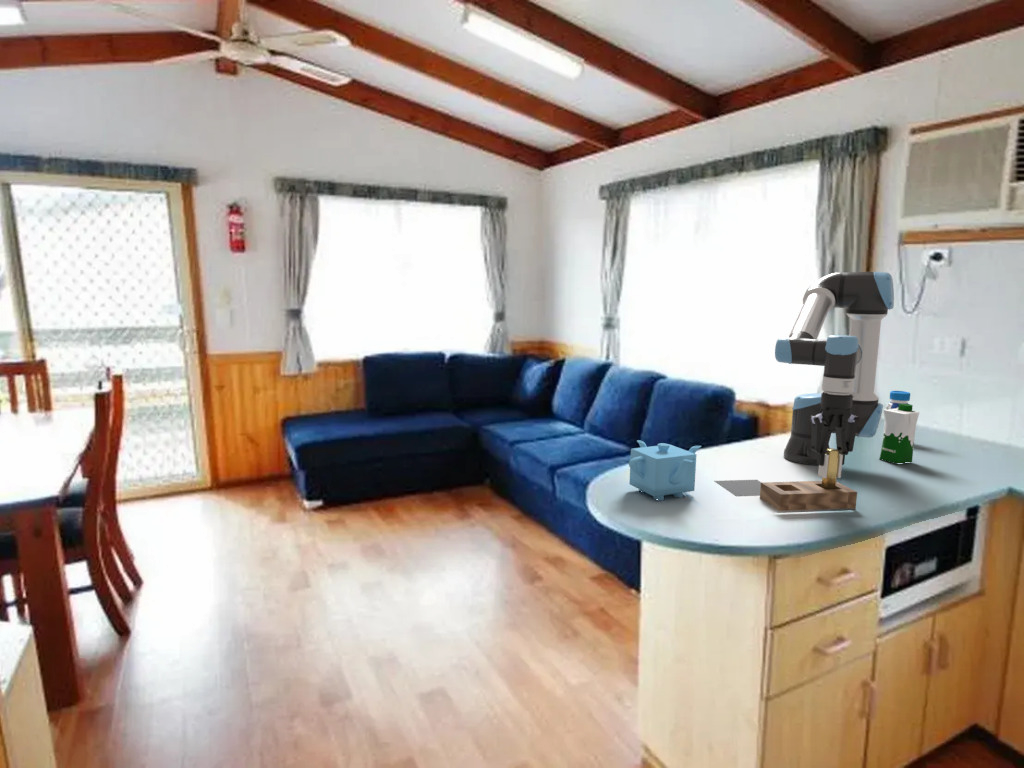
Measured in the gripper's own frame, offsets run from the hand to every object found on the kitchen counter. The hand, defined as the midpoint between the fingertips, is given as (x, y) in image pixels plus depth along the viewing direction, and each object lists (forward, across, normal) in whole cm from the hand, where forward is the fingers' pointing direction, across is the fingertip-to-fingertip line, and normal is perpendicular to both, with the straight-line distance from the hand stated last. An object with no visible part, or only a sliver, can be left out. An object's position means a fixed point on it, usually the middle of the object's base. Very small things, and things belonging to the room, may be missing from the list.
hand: (829, 476), depth 167 cm
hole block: (+8, -6, 0) cm, 10 cm away
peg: (+4, 0, 0) cm, 4 cm away
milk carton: (+8, +52, +38) cm, 65 cm away
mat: (+8, -16, +14) cm, 23 cm away
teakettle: (+8, -42, +13) cm, 45 cm away
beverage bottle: (+8, +73, +64) cm, 98 cm away
